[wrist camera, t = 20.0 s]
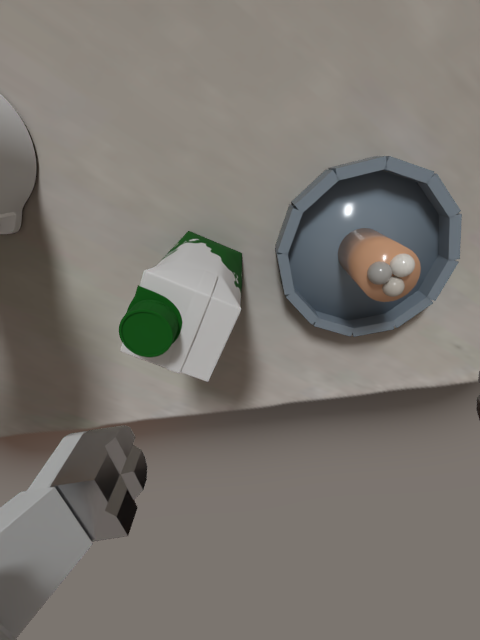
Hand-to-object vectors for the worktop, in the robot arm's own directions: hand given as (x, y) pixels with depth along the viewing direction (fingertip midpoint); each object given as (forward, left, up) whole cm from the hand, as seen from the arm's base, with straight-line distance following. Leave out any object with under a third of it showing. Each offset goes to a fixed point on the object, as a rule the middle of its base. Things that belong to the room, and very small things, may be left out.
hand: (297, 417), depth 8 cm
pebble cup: (+11, -7, -34) cm, 36 cm away
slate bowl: (+11, -7, -35) cm, 37 cm away
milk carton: (-8, -5, -35) cm, 37 cm away
